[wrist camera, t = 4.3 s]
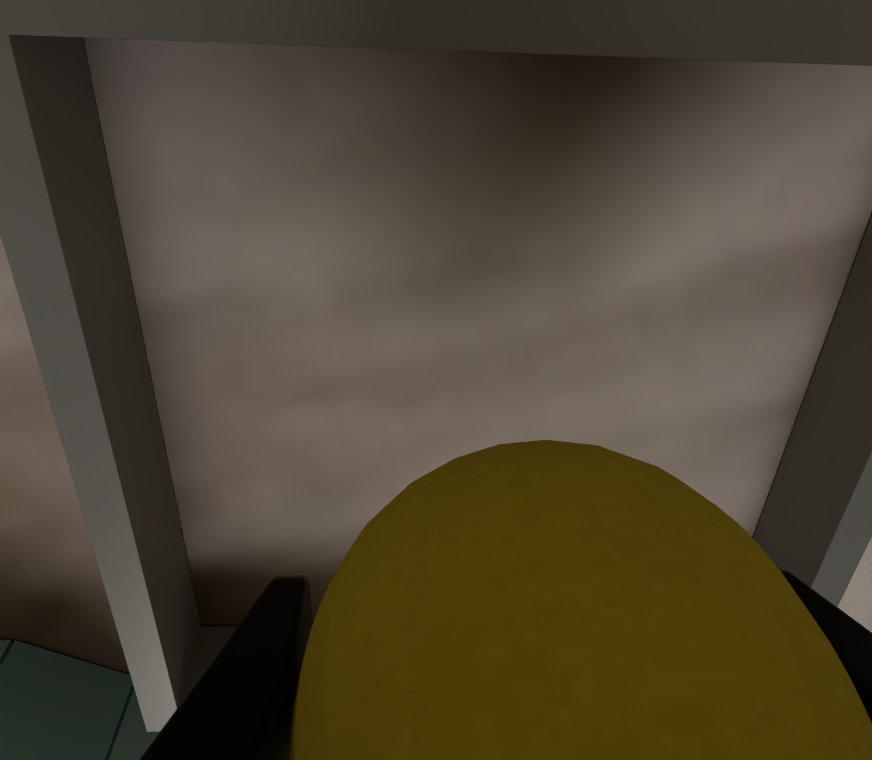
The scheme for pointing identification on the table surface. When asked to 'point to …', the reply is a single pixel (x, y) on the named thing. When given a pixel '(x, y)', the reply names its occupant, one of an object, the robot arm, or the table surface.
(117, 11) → the parts tray
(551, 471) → the lemon
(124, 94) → the table surface
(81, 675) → the bowl
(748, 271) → the table surface
